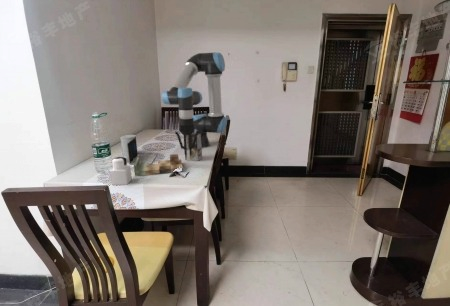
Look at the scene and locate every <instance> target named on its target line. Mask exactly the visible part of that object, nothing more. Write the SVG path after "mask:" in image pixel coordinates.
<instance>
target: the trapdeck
mask: <svg viewBox="0 0 450 306" xmlns="http://www.w3.org/2000/svg"><path fill="white" fill-rule="evenodd" d="M179 166H180V168H183V169H184V167H183V163H182V159H181V158H180V159H179V164H176V165H170V159H167V160H166V159H165V160H158V161H157V163H152V164H147V162H140V161H139V157H137V159H136V162H135V164H134V165H133V171H134V172H133V173H134V177H141V176H142V175H143V176H152V175H153V176H154V174H155V175H165V174H173V173H172V172H173V171H174V170H175V169H177V168H179ZM143 176H142V177H143Z"/></svg>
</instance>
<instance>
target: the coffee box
mask: <svg viewBox="0 0 450 306" xmlns="http://www.w3.org/2000/svg"><path fill="white" fill-rule="evenodd" d="M194 134H195V133H192V134H191V146H192V144H193V139H194ZM186 144H187V149H188V148H189V139H188V135H186ZM202 159H203V147H202V140H201V133H198V135H197V139H196V143H195V148H192V154H191V155H190V161H194V162H199V161H201V160H202ZM184 160H185V161H187V155H185V154H184Z"/></svg>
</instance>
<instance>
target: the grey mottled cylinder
mask: <svg viewBox="0 0 450 306" xmlns="http://www.w3.org/2000/svg"><path fill="white" fill-rule="evenodd" d="M135 137H136V138H137V135H135V134H125V135H121V136H120V137H119V138H120V144H121V145H120V146H121V151H122V157H129V155H128V147H127V143H129V142H130V141H131V140H132V139H134V138H135ZM136 144H137V142H136ZM138 153H139V152H138V151H137V154H138ZM138 155H139V154H138Z"/></svg>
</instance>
